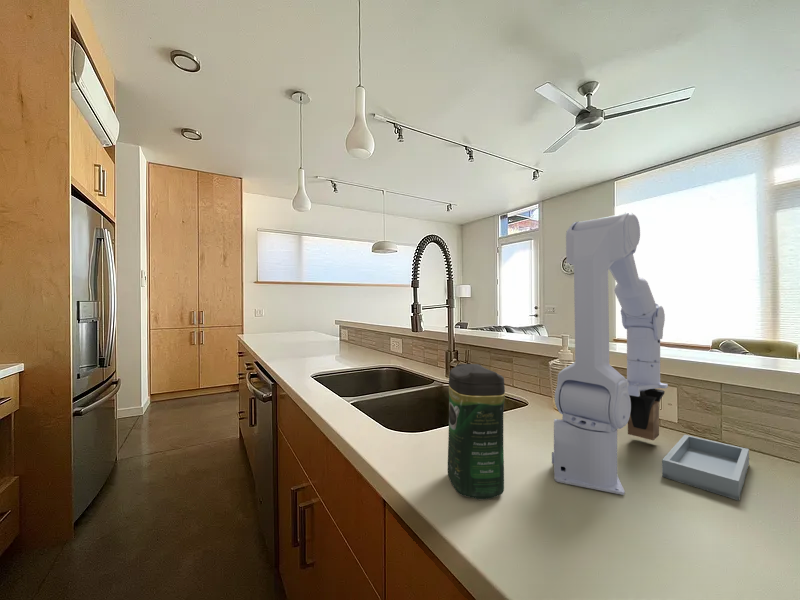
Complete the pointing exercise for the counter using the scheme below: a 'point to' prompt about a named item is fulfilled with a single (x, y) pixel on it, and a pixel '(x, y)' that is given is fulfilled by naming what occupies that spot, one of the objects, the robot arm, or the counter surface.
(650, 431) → the walnut block
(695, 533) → the counter surface
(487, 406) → the coffee jar
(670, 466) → the tray
